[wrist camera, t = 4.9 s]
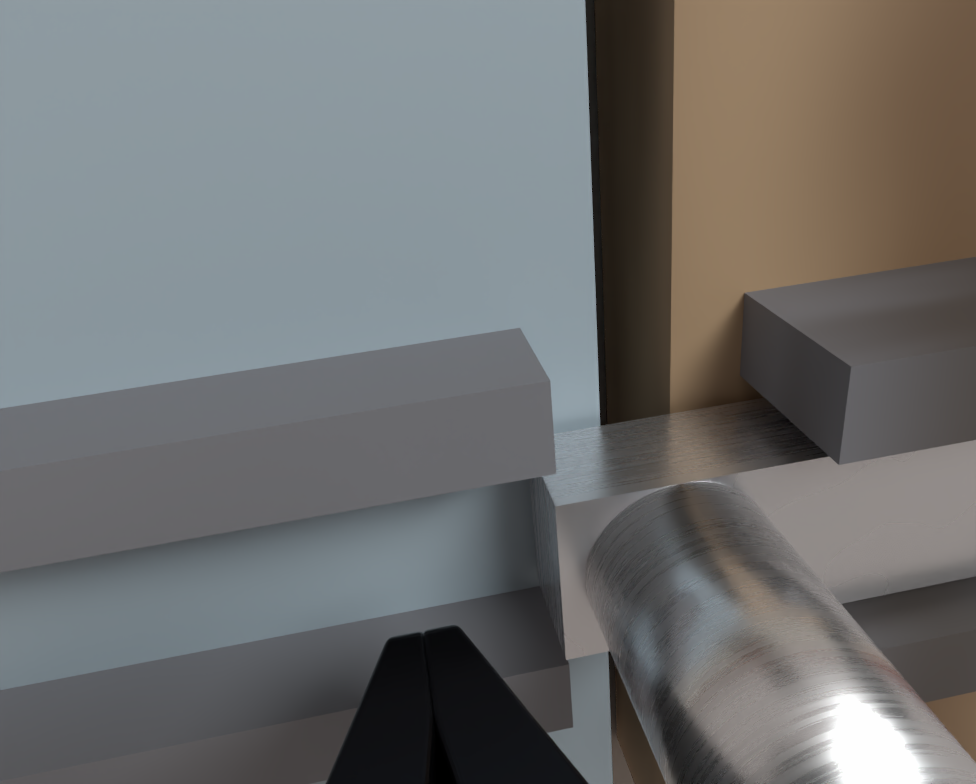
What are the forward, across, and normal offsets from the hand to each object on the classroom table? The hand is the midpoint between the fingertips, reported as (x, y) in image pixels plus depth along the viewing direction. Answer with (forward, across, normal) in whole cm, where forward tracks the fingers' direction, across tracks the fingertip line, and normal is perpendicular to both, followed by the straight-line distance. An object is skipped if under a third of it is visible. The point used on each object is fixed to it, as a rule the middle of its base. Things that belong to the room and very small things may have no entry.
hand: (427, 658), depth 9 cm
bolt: (+2, -6, 0) cm, 6 cm away
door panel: (+6, +2, 0) cm, 6 cm away
